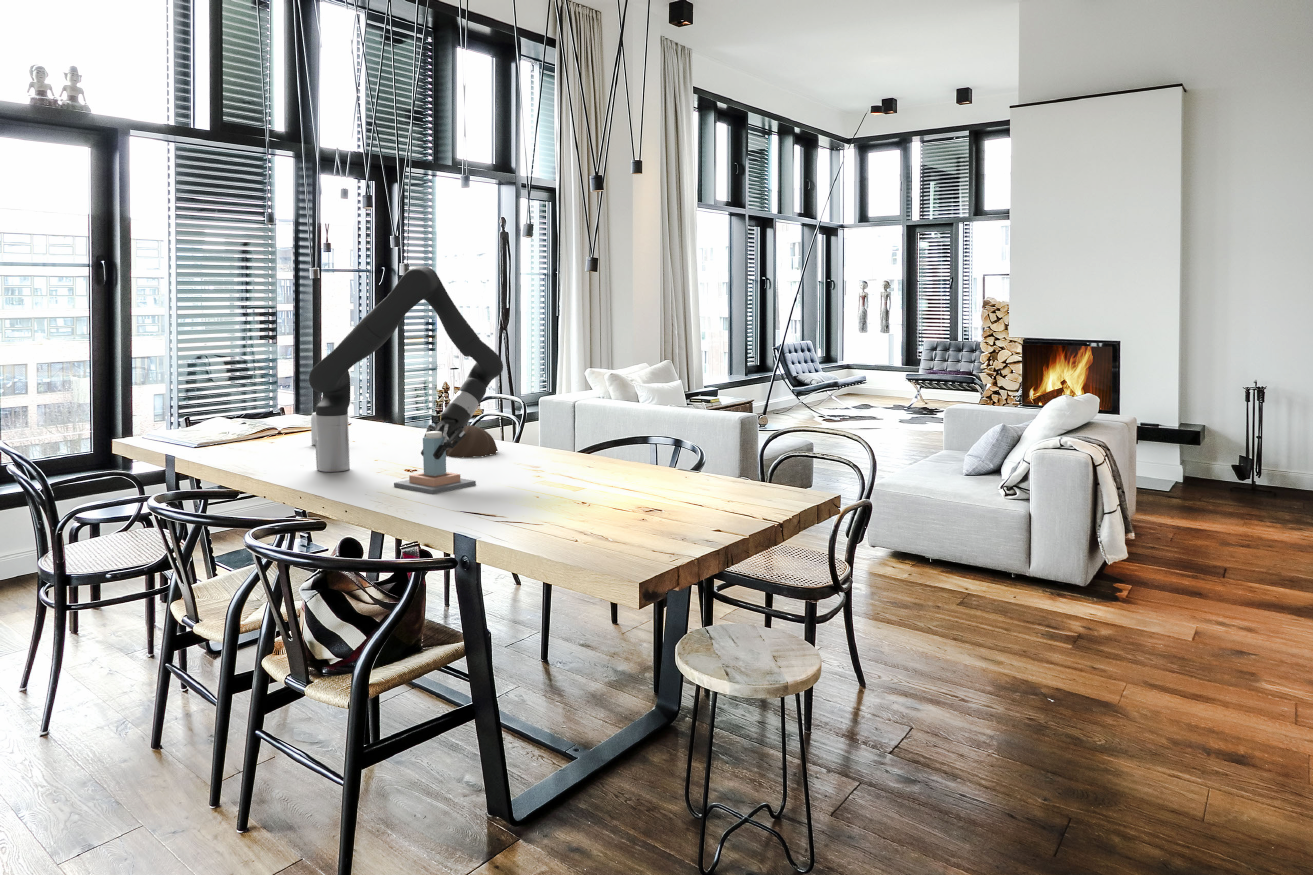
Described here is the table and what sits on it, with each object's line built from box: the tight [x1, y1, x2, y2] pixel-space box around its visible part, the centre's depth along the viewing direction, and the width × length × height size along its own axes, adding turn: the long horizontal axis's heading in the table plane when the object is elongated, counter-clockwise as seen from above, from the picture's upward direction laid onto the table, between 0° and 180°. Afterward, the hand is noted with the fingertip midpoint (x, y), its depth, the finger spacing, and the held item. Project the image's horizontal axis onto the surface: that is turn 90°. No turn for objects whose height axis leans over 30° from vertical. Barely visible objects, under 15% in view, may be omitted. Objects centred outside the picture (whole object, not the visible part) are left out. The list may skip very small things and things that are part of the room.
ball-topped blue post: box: [422, 431, 447, 476], centre depth 254 cm, size 4×4×12 cm
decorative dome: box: [446, 424, 499, 458], centre depth 312 cm, size 19×20×10 cm
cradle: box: [393, 471, 477, 495], centre depth 255 cm, size 16×16×3 cm
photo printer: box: [310, 411, 317, 446], centre depth 326 cm, size 10×4×12 cm, turn 123°
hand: (429, 456), depth 252 cm, fingers closed on ball-topped blue post, 4 cm apart
